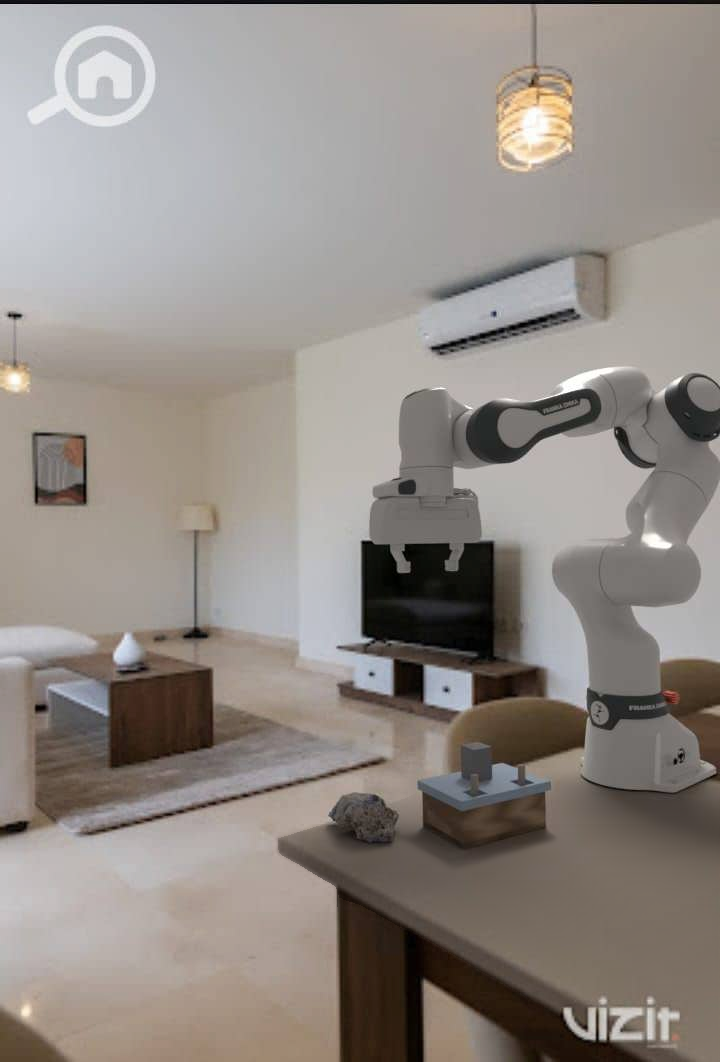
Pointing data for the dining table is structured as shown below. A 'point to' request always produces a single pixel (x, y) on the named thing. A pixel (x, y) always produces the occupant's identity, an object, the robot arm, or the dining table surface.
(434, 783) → the grey peg base plate
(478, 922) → the dining table surface
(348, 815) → the mineral specimen
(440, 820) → the wooden box with pegs
